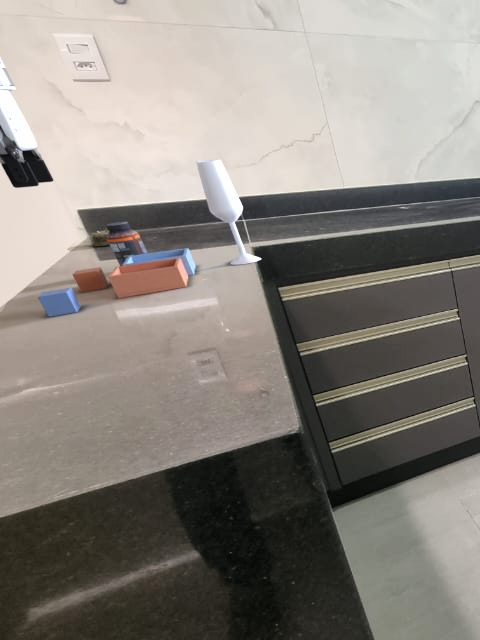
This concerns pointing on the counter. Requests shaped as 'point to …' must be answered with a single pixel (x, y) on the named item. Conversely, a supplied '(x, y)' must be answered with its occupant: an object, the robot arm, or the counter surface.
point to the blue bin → (164, 255)
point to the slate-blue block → (59, 302)
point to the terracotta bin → (148, 277)
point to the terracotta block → (90, 279)
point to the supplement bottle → (124, 241)
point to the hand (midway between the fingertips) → (35, 184)
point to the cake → (101, 238)
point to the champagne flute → (223, 201)
